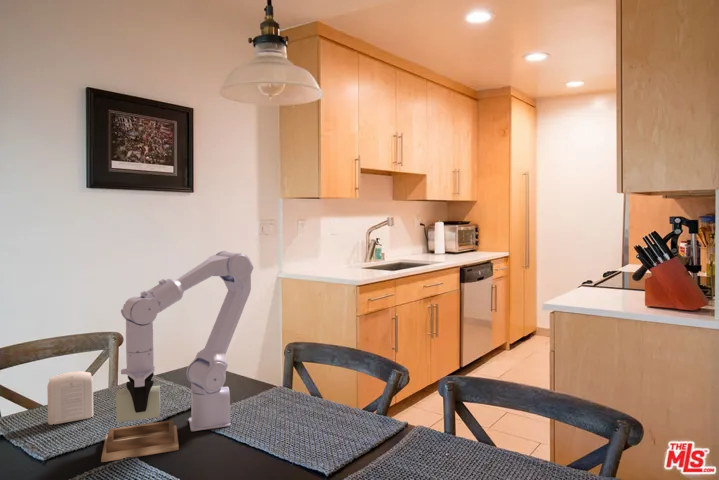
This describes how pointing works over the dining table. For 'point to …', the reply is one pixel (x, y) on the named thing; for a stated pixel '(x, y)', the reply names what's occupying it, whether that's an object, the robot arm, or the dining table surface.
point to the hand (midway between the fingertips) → (140, 407)
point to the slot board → (140, 440)
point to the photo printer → (70, 397)
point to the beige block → (126, 405)
